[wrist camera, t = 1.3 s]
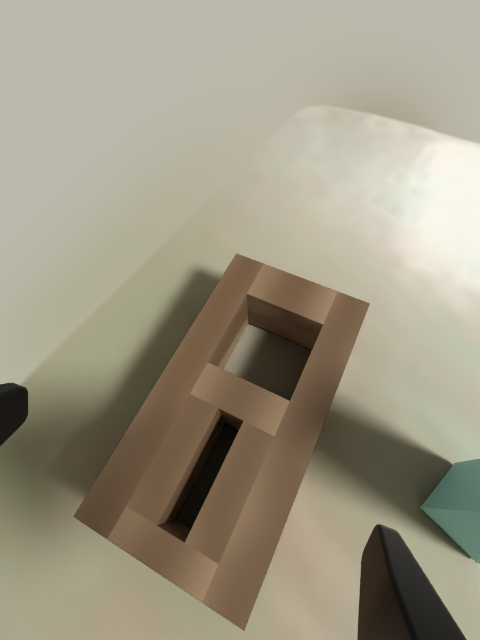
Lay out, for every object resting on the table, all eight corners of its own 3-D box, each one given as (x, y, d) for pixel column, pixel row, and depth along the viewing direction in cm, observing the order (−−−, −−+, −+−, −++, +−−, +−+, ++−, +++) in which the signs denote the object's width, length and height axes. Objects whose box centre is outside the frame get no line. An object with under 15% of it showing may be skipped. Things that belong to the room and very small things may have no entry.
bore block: (106, 512, 20) (73, 516, 16) (239, 286, 26) (236, 253, 23) (247, 603, 18) (244, 630, 14) (353, 331, 24) (369, 303, 21)
